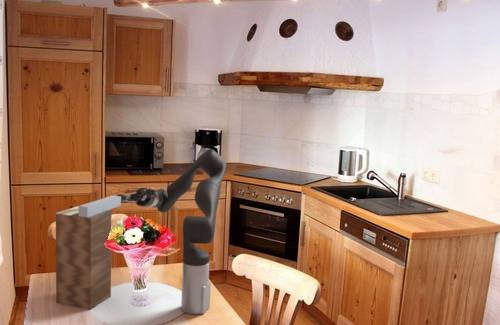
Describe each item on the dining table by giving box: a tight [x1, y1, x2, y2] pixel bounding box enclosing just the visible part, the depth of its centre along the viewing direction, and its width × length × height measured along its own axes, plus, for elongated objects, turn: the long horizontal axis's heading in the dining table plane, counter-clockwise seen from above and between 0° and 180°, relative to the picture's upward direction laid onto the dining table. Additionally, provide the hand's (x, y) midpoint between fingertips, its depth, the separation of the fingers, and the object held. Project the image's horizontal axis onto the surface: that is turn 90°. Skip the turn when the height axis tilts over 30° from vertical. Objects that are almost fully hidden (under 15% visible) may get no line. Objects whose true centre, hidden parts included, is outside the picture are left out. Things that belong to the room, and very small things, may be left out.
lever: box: [78, 195, 122, 217], centre depth 170 cm, size 4×20×4 cm, turn 162°
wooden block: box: [55, 205, 112, 310], centre depth 170 cm, size 14×12×32 cm
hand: (128, 194), depth 183 cm, fingers open, 8 cm apart
